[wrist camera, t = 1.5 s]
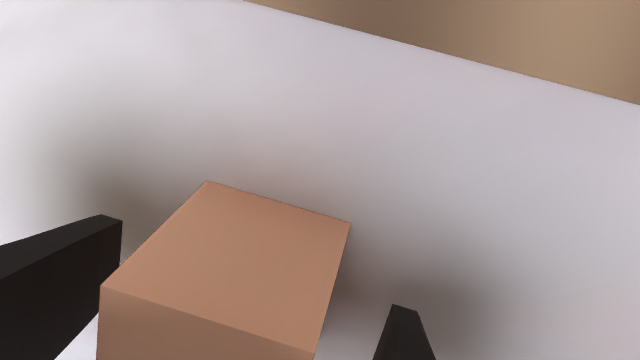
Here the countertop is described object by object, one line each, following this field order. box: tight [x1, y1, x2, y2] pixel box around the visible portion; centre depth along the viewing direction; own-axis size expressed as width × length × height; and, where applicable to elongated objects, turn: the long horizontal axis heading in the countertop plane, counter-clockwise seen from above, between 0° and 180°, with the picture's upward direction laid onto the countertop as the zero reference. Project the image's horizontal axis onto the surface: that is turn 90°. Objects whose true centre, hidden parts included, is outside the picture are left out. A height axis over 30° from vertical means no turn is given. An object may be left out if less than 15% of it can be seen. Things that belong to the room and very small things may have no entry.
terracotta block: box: [96, 181, 351, 360], centre depth 12 cm, size 4×4×5 cm
